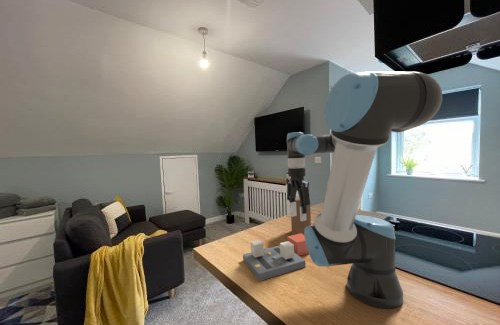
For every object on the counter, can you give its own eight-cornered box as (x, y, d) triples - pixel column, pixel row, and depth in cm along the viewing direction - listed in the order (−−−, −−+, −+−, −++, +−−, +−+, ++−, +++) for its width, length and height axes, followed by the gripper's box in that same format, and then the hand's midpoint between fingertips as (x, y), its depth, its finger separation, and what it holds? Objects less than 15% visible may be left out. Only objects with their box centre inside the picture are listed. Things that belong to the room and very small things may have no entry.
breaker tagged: (263, 255, 85) (263, 243, 85) (255, 257, 84) (254, 245, 83) (259, 251, 89) (259, 239, 89) (251, 253, 87) (250, 241, 87)
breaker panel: (305, 266, 81) (305, 259, 81) (259, 281, 73) (258, 273, 73) (283, 249, 96) (283, 243, 96) (243, 260, 88) (242, 253, 88)
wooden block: (311, 238, 107) (310, 200, 106) (291, 237, 109) (290, 200, 108) (310, 231, 117) (308, 195, 116) (291, 230, 119) (290, 196, 118)
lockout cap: (311, 252, 92) (311, 239, 92) (297, 256, 89) (297, 242, 89) (301, 245, 99) (301, 233, 99) (287, 249, 96) (287, 236, 96)
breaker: (294, 257, 82) (293, 244, 82) (285, 259, 81) (285, 247, 81) (288, 252, 86) (288, 241, 86) (280, 255, 85) (279, 243, 84)
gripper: (318, 167, 85) (320, 223, 86) (291, 166, 103) (292, 211, 104) (303, 169, 82) (305, 226, 83) (278, 167, 100) (280, 214, 101)
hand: (298, 218), depth 94 cm, fingers open, 7 cm apart
